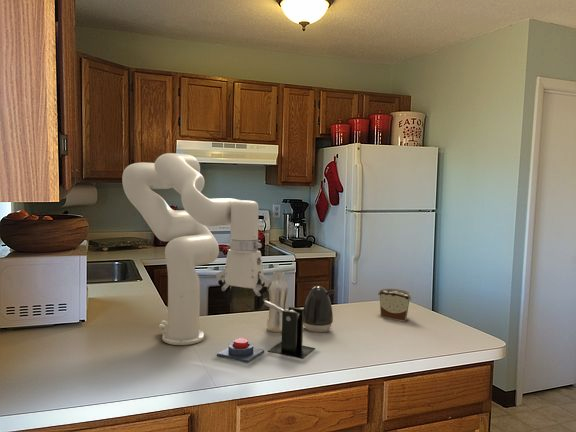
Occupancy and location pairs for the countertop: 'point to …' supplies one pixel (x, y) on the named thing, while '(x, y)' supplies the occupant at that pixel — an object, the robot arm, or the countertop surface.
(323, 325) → the dark grey tapered dome
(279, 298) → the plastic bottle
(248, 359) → the button box
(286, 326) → the bracket
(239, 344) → the button
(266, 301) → the lever
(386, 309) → the food container
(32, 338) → the countertop surface
